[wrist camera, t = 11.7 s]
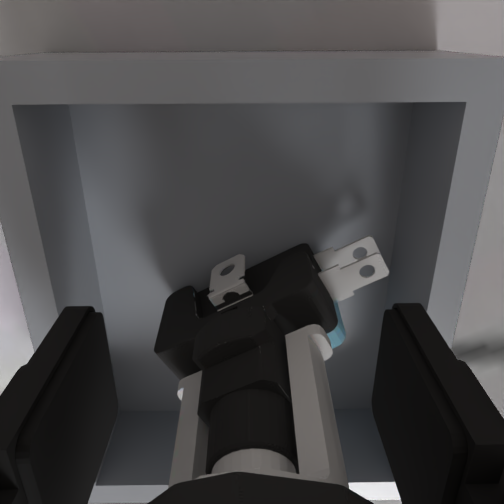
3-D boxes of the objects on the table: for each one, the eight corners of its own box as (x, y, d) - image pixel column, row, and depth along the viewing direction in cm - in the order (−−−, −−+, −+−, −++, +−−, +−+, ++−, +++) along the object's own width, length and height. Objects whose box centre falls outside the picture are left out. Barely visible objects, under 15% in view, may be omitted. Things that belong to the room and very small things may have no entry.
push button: (335, 159, 12) (551, 622, 3) (404, 301, 14) (631, 778, 6) (129, 265, 14) (-69, 754, 5) (222, 376, 16) (194, 834, 8)
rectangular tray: (437, 50, 12) (516, 57, 9) (382, 404, 18) (417, 499, 14) (43, 52, 12) (-41, 60, 9) (108, 408, 18) (73, 503, 14)
